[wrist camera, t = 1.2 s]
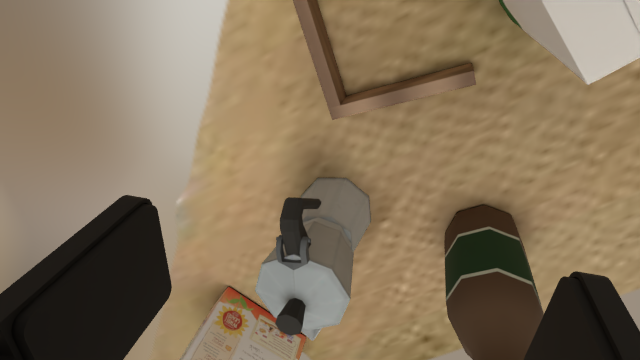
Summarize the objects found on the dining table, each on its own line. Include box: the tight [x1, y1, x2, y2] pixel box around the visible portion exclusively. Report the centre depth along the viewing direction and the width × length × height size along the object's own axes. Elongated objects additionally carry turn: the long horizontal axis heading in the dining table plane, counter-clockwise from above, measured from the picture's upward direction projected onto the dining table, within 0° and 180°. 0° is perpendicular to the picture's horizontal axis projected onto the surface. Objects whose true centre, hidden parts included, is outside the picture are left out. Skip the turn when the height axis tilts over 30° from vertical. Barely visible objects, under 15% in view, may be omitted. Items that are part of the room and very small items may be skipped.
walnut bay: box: [293, 0, 476, 120], centre depth 35 cm, size 13×15×3 cm
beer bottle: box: [445, 205, 544, 360], centre depth 34 cm, size 8×8×24 cm
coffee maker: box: [255, 178, 371, 340], centre depth 39 cm, size 15×9×18 cm, turn 7°
